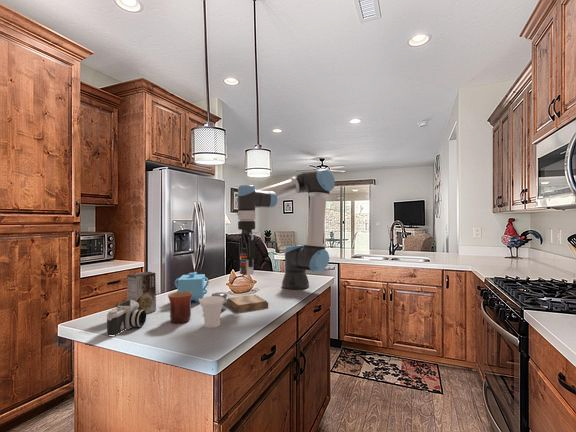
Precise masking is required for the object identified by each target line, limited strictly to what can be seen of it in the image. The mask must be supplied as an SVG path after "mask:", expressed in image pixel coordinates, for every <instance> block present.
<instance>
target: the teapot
mask: <svg viewBox="0 0 576 432" xmlns="http://www.w3.org/2000/svg"><path fill="white" fill-rule="evenodd" d="M209 283H210V280H209V279H208V277H206V275H205V273H200V274H199V273H198V271H194V272H188V274H182V275H181V276H180V277H178V278H176V279H175V281H174V286H175V288H177V290H176V292H182V291H187V292H192V293H193V294H192V298H191V301H194V303H199V304H200V302H199V298H200V299H201V298H204V297H205V295H206V294H207V293H208V289H206V288H207V287H208V286H209Z"/></svg>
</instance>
